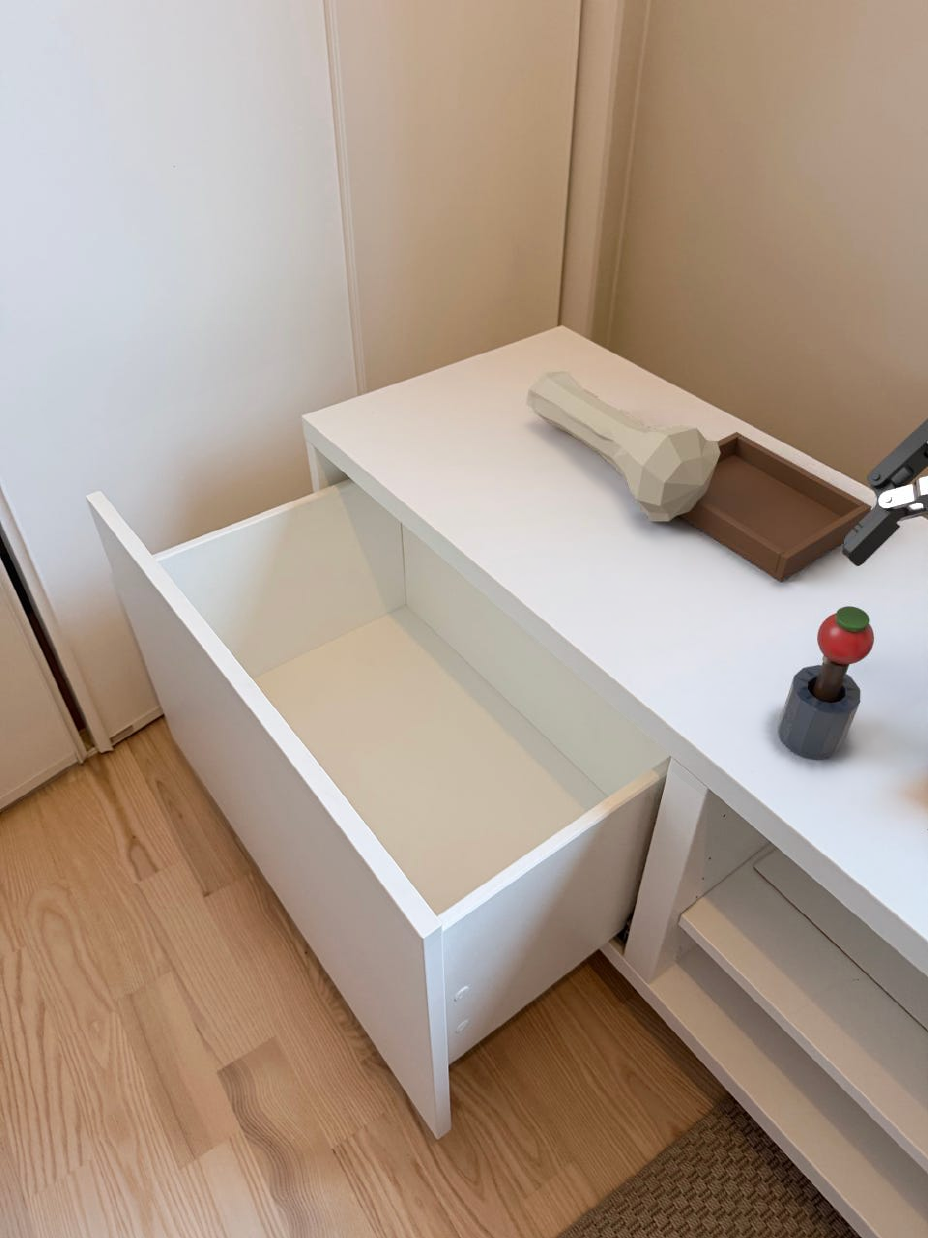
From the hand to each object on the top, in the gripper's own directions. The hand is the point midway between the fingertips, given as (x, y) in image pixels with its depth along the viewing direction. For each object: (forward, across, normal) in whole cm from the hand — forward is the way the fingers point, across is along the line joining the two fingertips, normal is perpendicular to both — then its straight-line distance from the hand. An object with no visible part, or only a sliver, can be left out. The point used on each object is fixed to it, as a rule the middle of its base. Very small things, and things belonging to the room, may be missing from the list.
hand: (894, 598), depth 60 cm
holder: (+11, 0, +6) cm, 12 cm away
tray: (+2, -23, +15) cm, 27 cm away
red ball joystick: (+10, 0, +6) cm, 12 cm away
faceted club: (+7, -35, +9) cm, 37 cm away
